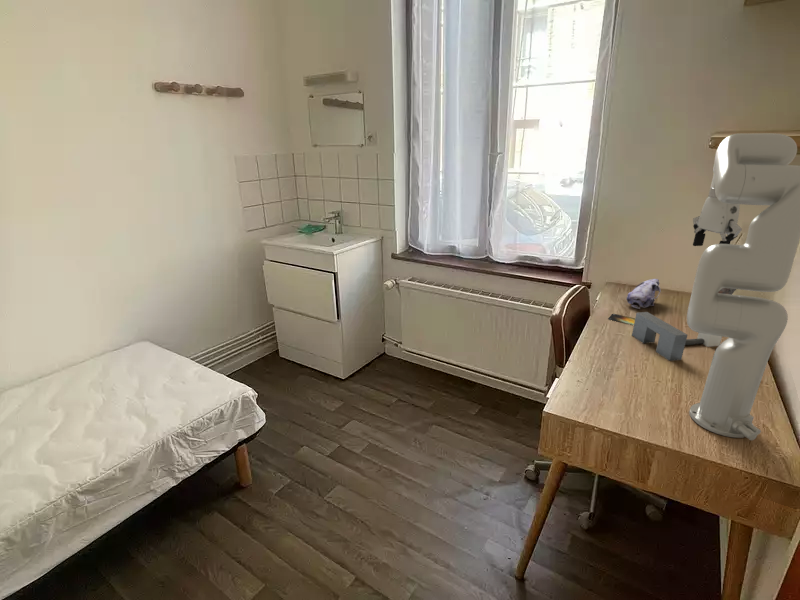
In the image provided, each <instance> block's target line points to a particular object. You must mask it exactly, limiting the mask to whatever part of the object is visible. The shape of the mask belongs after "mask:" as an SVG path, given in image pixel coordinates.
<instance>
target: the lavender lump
mask: <svg viewBox="0 0 800 600" xmlns="http://www.w3.org/2000/svg"><path fill="white" fill-rule="evenodd" d="M657 291H658V294H657V296H656V292H657ZM661 291H662V290H661V286H660V280H659V279H658V278H652V279H647V280H645V281H641V282H640V283H639V284H637V285H636V286H635V287H634V288H633V290H632V291H630V292H628V294H627V296H626V301H627V303H628V304H629V305H630V307H632V308H635V309H639V310H641V308H644V309H645V308H646V309H647V308H649V307H652V306H655V300H656V299H658V297H659V295H660V294H661Z"/></svg>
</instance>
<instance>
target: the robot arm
mask: <svg viewBox="0 0 800 600" xmlns="http://www.w3.org/2000/svg"><path fill="white" fill-rule="evenodd" d="M797 153H798V145H797V143H796V141H795V140H794V139H793V138H792V137H791V136H789V135H786V134H782V133H774V132H773V133H768V132H767V133H760V132H759V133H756V132H755V133H734V134H731V135H728V136H726V137H725V138H724V139H723V140H722V141H721V142H720V143H719V146H717V149H716V151H715V154H714V156H715V157H714V162H713V163H714V164H713V169H712V172H713V176H712V180H711V184H710V188H709V192H708V197H706V199H705V201H704V203H703V205H702V209H701V211H700V215H699V216H696V217H694V218H692V223H693V225H692V226H693V230H694V231H693V233H694V234H695V235H694V238H693V242H692V246H693V247H702V246H703V245H704V242H705V238H706V232H712V233H715V234H719V235H720V238H721V240H720V241H719V243H714V244H712V245H709V246H708V247H706V248H705V250H704V251H703V252H702V254H701V256H700V258H699V260H698V264H697V267H696V273H695V277H694V281H693V286H692V289H691V294H690V295H691V296H690V299H689V303H688V308H687V313H686V323H687V326H688V328H689V329H691V331H693V332H696V333H698V334H699V333H703V334H709V335H716V336H722V338H726V339H725V340H724V341H722V342H721V343H720V345H719V346H717V347H716V349H715V350H714V353H713V356H712V359H711V364H710V366H709V370H708V374H707V378H706V380H705V383H704V387H703V391H702V395H701V398H700V400H699V402H697V403H694V404H692V405H691V407H690V408H689V412H688V413H689V416H690V418H691V420H692V421H694V422H695V423H696V424H697V425H699V426H700V427H702V428H704V429H706V430H707V431H710V432H712V433H714V434H717V435H720V436H723V437H728V438H736V439H737V438H738V439H740V438H741V439H743V438H746V439H748V440H749V441H754V440H755V439H756V438H757V437H758V435H760V434H761V433H762V431H761V429H759V428H758V427H756V426H755V425H754V423H753V420H754V416H753V415H752V414H751V411H752V408H753V405H754V403H755V399H756V396H757V393H758V390H759V388H760V385H761V382H762V379H763V377H764V374H765V370H766V367H767V364H768V363H769V362H768V361H769V359H770V356H771V354H772V351H773V350H774V347H775V346H776V344H777V342H778V341H779V339H780V338H781V336H782V334H783V333H784V331H785V329H786V327H787V324H788V318H789V317H788V312H787V309H786V308H785V307H784V305H782V304H780V303H779V302H778V301H774V300H772V299H768V298H764V297H758V296H751V295H749V296H747V295H742V294H741V295H738V294H732V295H731V294H722V293H718V292H719V291H720V290H721V289H722V288H731V289H736V290H742V291H749V292H751V291H752V292H762V293H772V292H779V291H780V290H782V289H783V288H784V287H786V285H787V283H788V280H789V278H790V275H791V271H792V269H793V265H794V261H795V257H796V253H797V249H798V247H799V246H798V245H799V242H800V165H792V164H791V163H792V162H793V161H794V159H795V158H796V156H797ZM741 205H746V206H748V205H749V206H767V208H765V209H764V210H762V211H761V212H760V213H759V214H757V216H755V217H754V218H753V219H752V220H751V222H750V224H749V225H748V230H747V236H746V238H745V242H744V243H743V244H732V243H731V242H733V241H734V240H735V239H736V238H738V235H739V234H740V233H741V232H742V227H741V226H740V225H739V224H738V222H739V217H740V216H739V215H740V211H741V207H740V206H741Z"/></svg>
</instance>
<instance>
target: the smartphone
mask: <svg viewBox="0 0 800 600" xmlns="http://www.w3.org/2000/svg"><path fill="white" fill-rule="evenodd" d="M635 318H636V317H630V316H626V315H622V314H621V315H620V314H618V313H617V314H616V313H611V314H610V315H609V317H608V318H607V320H608V321H611V320H612V321H611V322H615V321H616V322H615V323H621V324H624V323H625V324H626V325H628V324H630V326H633V325H634V323H635Z"/></svg>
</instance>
